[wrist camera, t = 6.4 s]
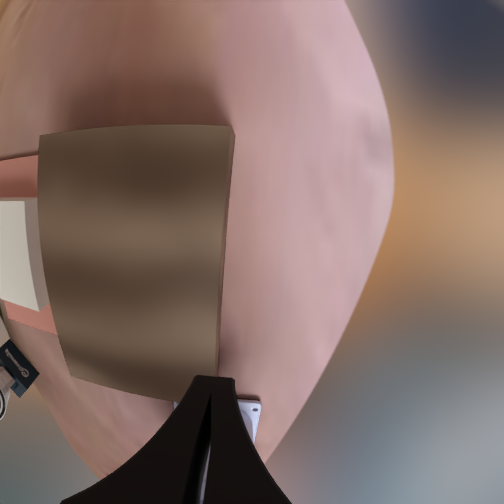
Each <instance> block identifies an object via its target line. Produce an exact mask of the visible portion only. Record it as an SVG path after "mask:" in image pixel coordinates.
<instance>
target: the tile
mask: <svg viewBox="0 0 504 504" xmlns="http://www.w3.org/2000/svg"><path fill="white" fill-rule="evenodd" d="M0 299H3V300H6V301H9V302H11V303H14V304H17V305H20V306H23V307H26V308H29V309H32V310H35V311H41V310H42V309H43V308H44V307H45V306H47V305H48V304H49V303H50V302H49V297H48V292H47V287H46V282H45V276H44V270H43V263H42V255H41V247H40V237H39V224H38V204H37V197H2V198H0Z"/></svg>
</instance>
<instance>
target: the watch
mask: <svg viewBox="0 0 504 504" xmlns="http://www.w3.org/2000/svg"><path fill="white" fill-rule="evenodd" d="M38 375H39V373H38V372H37V371H36V370H35V368H34V367H33V366H32V365H31V364H30V363H29V362H28V361H27V359H26V358H25V357H24V356H23V355H22V354H21V352H20V351H19V350H18V349H17V348H16V346H15V345H14V344H13V343H12V341H11V340H10V339H9V340H8V341H7V342H6V343H5V344H4V345H3V346H2V347H0V419H2V418H3V416H4V415H5V412H6V407H7V403H8V399H9V396H10V391H8V390H9V388H11V389H12V390H13V391H14V392H15V393H16V395H17V396H18V397H19V398H20V397H21V396H22V395H23V393H24V392H25V391H26V390H27V389H28V388H29V386H30V385H31V384H32V383H33V381H34V380H35V379H36V378H37V376H38Z"/></svg>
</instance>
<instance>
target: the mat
mask: <svg viewBox="0 0 504 504" xmlns="http://www.w3.org/2000/svg"><path fill="white" fill-rule="evenodd" d="M37 171H38V155H34V156H27V157H21V158H15V159H9V160H3V161H0V198H2V197H37ZM4 303H5V307H6V310H7V314H8V317H9V318H10V319H13V320H15V321H18V322H21V323H23V324H26V325H29V326H32V327H35V328H38V329H41V330H44V331H47V332H50V333H53V334H56V335H58V334H57V331H56V327H55V323H54V319H53V315H52V311H51V307H50V303H49V304H48V305H47V306H45V307H44V308H43V309H42V310H41V311H35V310H32V309H29V308H26V307H23V306H20V305H17V304H14V303H11V302H9V301H6V300H4Z"/></svg>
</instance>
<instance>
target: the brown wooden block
mask: <svg viewBox="0 0 504 504" xmlns="http://www.w3.org/2000/svg"><path fill="white" fill-rule="evenodd" d="M234 143H235V134H234V132H233V129H232V127H231V126H219V125H194V124H150V125H126V126H112V127H100V128H90V129H81V130H73V131H66V132H59V133H53V134H47V135H41V136H40V139H39V152H38V171H37V204H38V224H39V237H40V247H41V255H42V263H43V270H44V276H45V282H46V287H47V292H48V297H49V302H50V307H51V311H52V315H53V319H54V323H55V327H56V331H57V334H58V338H59V341H60V345H61V348H62V351H63V354H64V357H65V360H66V363H67V366H68V369H69V372H70V375H71V376H73V377H76V378H79V379H82V380H85V381H88V382H92V383H95V384H98V385H102V386H105V387H109V388H113V389H117V390H121V391H125V392H129V393H133V394H137V395H142V396H147V397H152V398H157V399H162V400H168V401H174V402H180V401H181V399H182V398H183V396H184V395H185V393H186V391H187V390H188V388H189V386H190V384H191V383H192V381H193V378H194V377H195V376H196V375H205V376H215V377H218V365H219V343H220V323H221V306H222V289H223V274H224V259H225V246H226V232H227V220H228V208H229V196H230V185H231V174H232V164H233V153H234Z"/></svg>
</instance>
